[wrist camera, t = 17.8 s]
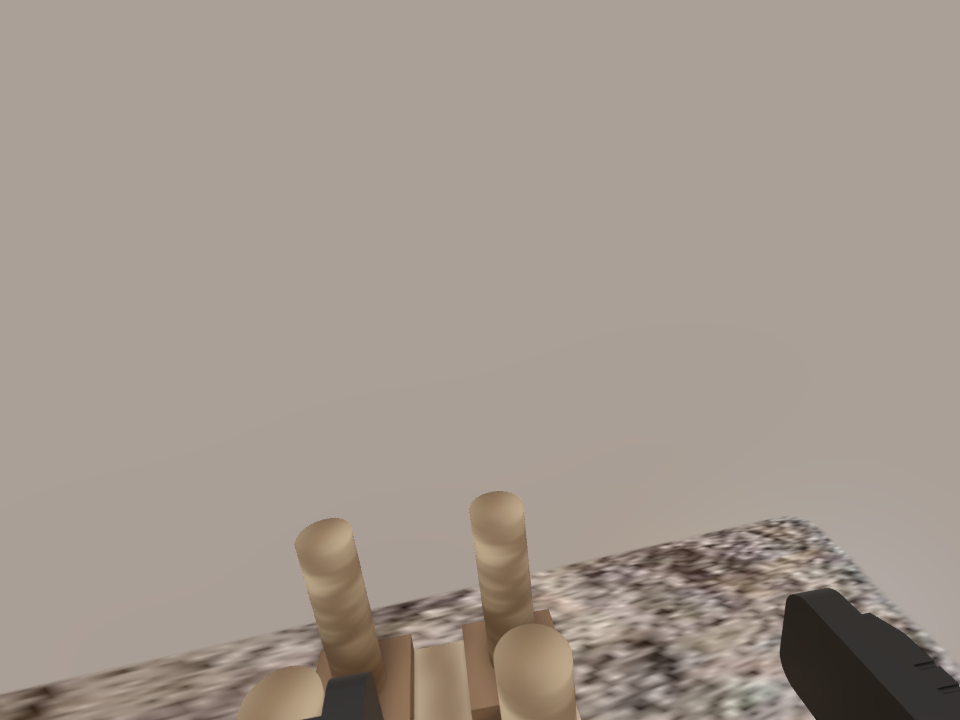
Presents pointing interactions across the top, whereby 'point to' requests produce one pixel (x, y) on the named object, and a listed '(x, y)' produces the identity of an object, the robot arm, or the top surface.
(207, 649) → the top surface
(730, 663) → the top surface
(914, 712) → the robot arm
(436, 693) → the stool seat
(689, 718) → the top surface
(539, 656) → the stool leg
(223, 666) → the top surface
